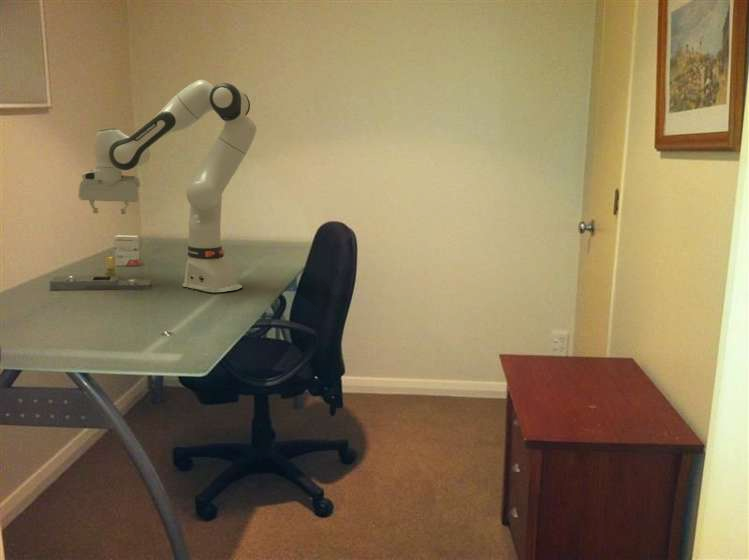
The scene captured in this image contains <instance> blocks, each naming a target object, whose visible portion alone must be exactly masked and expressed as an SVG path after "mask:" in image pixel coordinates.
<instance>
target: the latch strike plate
mask: <svg viewBox="0 0 749 560" xmlns="http://www.w3.org/2000/svg"><path fill="white" fill-rule="evenodd" d="M151 285H152V280H151V279H137V278H128V279H119V275H117V276H106V275H80V276H79V275H78V276H77V275H75V274H68V275H65V276H64V275H63V276H59V275H58V276H53V277H52V279H51V280H50V281H49V288H50V289H49V290H50V291H87V290H88V291H93V290H94V291H95V290H98V291H99V290H103V291H105V290H112V291H113V290H150V289H151Z"/></svg>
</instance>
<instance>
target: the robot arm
mask: <svg viewBox="0 0 749 560" xmlns="http://www.w3.org/2000/svg"><path fill="white" fill-rule="evenodd" d="M250 110H251V103H250V99H249V97H248V95H247V94H245V93H244V91H243V90H241V88H239V87H237V86H235V85H233V84H231V83H228V82H224V83H222V82H221V83H219V84H217V85H215V86H213V85H212V83H210V82H209V81H207V80H205V79H198V80H196V81H194V82H192V83H190V84H189V85H187V86H186V87H185V88H183V89H182V90H180V91H179V92H178V93H177V94H175V96H173V97H172V98H171V99H170V100H169V101H168V102H167V103H166V104H165V106H163V108H162V109H161V110H160V111H159V112H158V113H157V114H156V115H155V116H154V117H153V118H152V119H151V120H150V121H148V122H147V123H146V124H144V126H143V127H141V128H140V129H138V130H137V131H136V132H135V133H134V134H132V135H131V136H129V135H127V134H125V133H123V132H122V131H121V130H120V129H118V128H107V129H100V130H98V132H96V135H95V142H94V155H95V158H96V160H95V169H92V170H89V171H85V172H83V173H82V174H81V179H82V180H81V181H80V183H79V187H78V198H79V200H80V201H89V205H90V206H91V208H92V213H93V214H99V208H98V207H96V206H95V203H96V202H97V201H99V202H124V205H125V206H124V208H120V209H121V210H120V214H122V215H126V214H127V211H126V210H127V208H128V207H129V204H130V203H137V202H138V201H139V200H140V193H139V188H140V186H141V185H140V184H141V183H140V181H141V180H140V179H139V178H138V177H136V175H125V174H124V175H123V171H129V170H132V169H134V168H137V167H141V166H143V165H145V164H146V163H147V162H148V160H149V159H150V156H151V155H150V148H151V146H153V145H154V144H155V143H156V142H157V141H159V140H160V139H161V138H163V137H164V136H167V135H169V134H172V133H175V132H179V131H183V130H185V129H188V128H189V127H191V126H192V125H194V124H195V123H197V122H198V121H199V120H200V119H202V117H204V116H205V115H206V114H207V113H209V112H211V111H214V112H215V113H216V114H217V115H218V116H219V117H220V118H221V120H222V121H224V126H223V129H222V130H221V132H220V133H219V135H218V137H217V138H216V140H215V142H214V144H213V145H212V147H211V149H210V151H209V152H208V154H207V155H206V157H205V159H204V160H203V161H202V163H201V165H200V166H199V168H198V169H197V171H196V173H194V176H193V177H192V179H191V181H190V182H189V184H188V186H187V188H186V191H185V192H186V193H185V195H186V199H187V201H188V204H189V205H190V206H189V220H188V245H187V250H186V251H187V256H188V259H187V261H186V264H185V272H184V282H183V283H182V285H181V286H183V287H189V288H197V289H204V288H205V289H207V288H212V289H217V288H225V287H230V286H234V285H236V283H237V275H236V271H235V268H232V266H231V265H230V263H229V262H228V261H227V260H226V259H225V257H224V256H225V255H224V254H225V253H224V252H225V251H226V250H224V249H223V246H222V244H221V219H222V202H223V201H222V197H223V193H224V191H225V189H226V188H227V186H228V185H229V183H230V181H231V180H232V178H233V176H234V175H235V173H236V172H237V170H238V169H239V166H240V165H241V164H242V162H243V160H244V159H245V156H246V155H247V153H248V151H249V149H250V148H251V146H252V143H253V141H254V139H255V136H256V133H257V126H256V124H255V122H254V121H253V120H252V119H251V118H250V117H248V116H247V115H248V114H249V112H250ZM95 201H96V202H95ZM183 287H182V288H183Z"/></svg>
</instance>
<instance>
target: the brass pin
mask: <svg viewBox="0 0 749 560" xmlns="http://www.w3.org/2000/svg"><path fill="white" fill-rule="evenodd" d="M105 276H118V275H117V266H116V257H115V255H110V256H108V255H107V256H105Z"/></svg>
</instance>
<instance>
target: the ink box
mask: <svg viewBox="0 0 749 560" xmlns="http://www.w3.org/2000/svg"><path fill="white" fill-rule="evenodd" d="M113 238H114V239H113V240H114V243H113V244H114V247H113V248H114V256H115V257H116V267H117V266H118V267H119V266H124V267H127V266H128V267H137V266H139V265H140V249H139V246H140V245H139V244H140V243H139V235H125V234H124V235H123V234H118V235H115V236H114V237H113Z"/></svg>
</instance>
